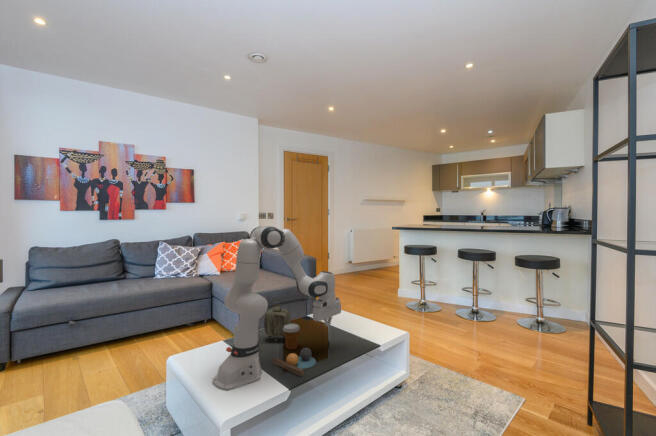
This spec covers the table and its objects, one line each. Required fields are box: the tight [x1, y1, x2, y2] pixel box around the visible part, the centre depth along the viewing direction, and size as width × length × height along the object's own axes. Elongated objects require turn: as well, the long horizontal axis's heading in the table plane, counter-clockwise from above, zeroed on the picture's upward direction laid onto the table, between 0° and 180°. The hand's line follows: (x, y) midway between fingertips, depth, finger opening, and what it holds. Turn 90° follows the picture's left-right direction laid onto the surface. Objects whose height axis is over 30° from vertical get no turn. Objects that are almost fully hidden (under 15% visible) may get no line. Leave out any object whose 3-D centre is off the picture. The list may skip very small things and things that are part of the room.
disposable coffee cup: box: [283, 323, 301, 350], centre depth 178 cm, size 10×10×12 cm
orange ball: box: [285, 352, 298, 366], centre depth 156 cm, size 6×6×6 cm
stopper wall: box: [272, 357, 305, 377], centre depth 152 cm, size 2×20×2 cm, turn 48°
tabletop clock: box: [263, 298, 292, 343], centre depth 188 cm, size 14×9×25 cm, turn 84°
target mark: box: [295, 355, 317, 370], centre depth 159 cm, size 14×14×1 cm
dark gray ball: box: [299, 347, 313, 360], centre depth 162 cm, size 6×6×6 cm
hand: (327, 325), depth 174 cm, fingers closed
